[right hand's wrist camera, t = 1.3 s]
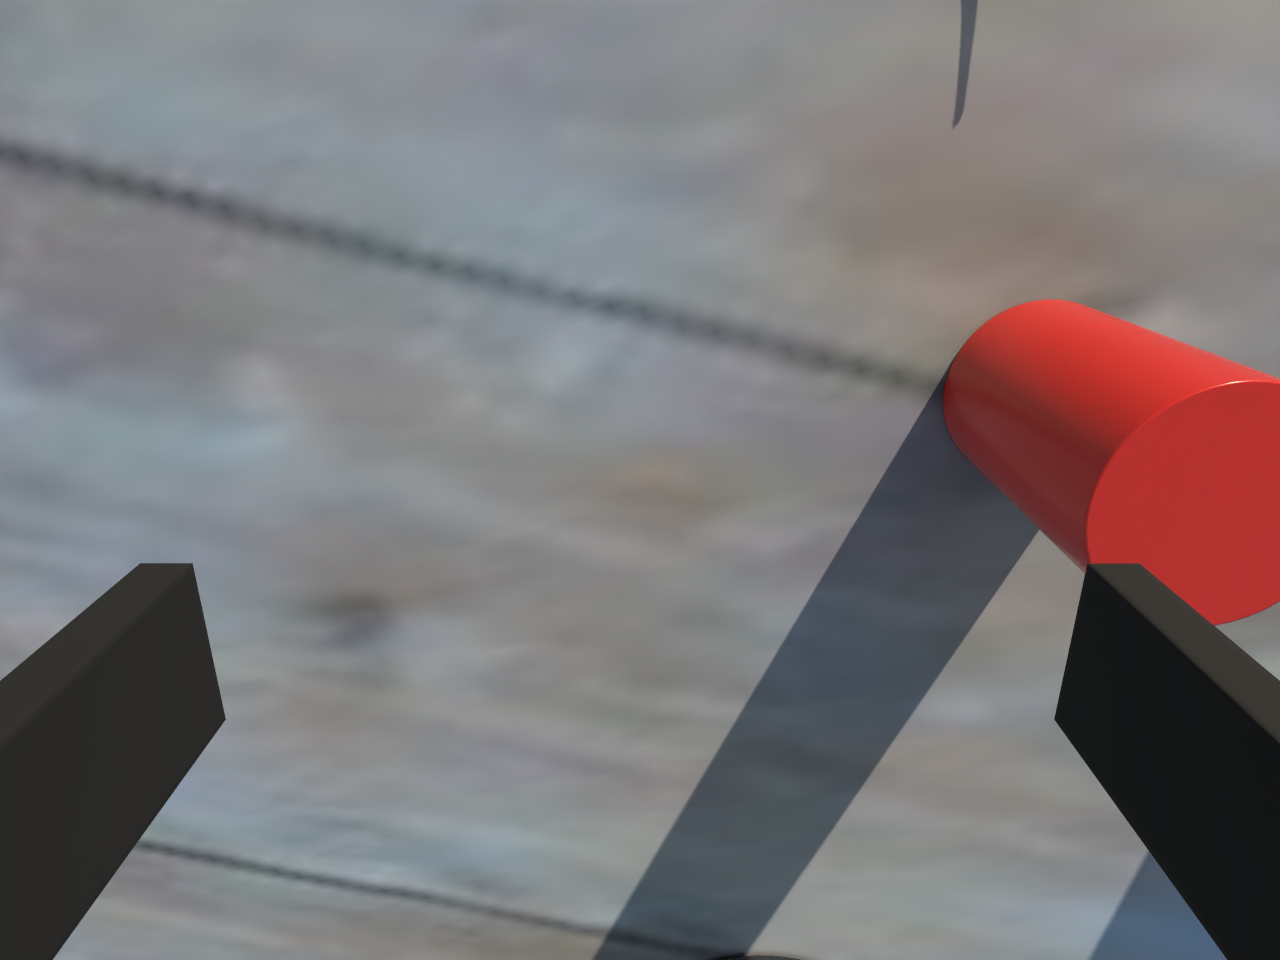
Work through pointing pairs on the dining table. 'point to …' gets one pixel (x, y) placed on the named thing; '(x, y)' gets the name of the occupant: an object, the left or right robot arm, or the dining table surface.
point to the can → (1128, 449)
